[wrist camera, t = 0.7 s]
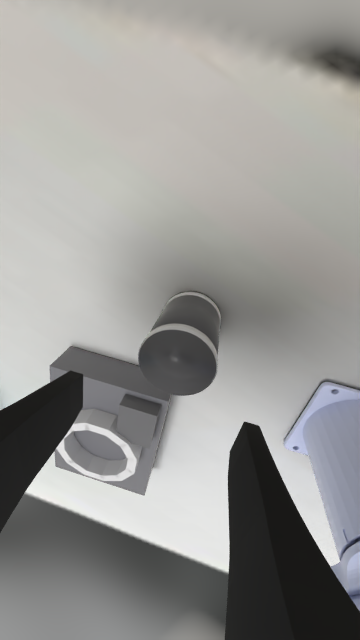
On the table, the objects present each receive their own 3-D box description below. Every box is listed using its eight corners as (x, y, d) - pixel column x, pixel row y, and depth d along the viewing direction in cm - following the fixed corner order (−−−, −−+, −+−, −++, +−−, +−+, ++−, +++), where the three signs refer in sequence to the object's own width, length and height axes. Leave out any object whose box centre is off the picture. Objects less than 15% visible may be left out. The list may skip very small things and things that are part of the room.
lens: (228, 299, 18) (227, 343, 12) (212, 349, 20) (205, 405, 15) (168, 283, 18) (143, 319, 13) (158, 334, 20) (133, 383, 15)
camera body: (176, 376, 22) (163, 417, 18) (152, 467, 28) (139, 511, 24) (70, 346, 22) (36, 378, 18) (71, 441, 29) (46, 480, 25)
